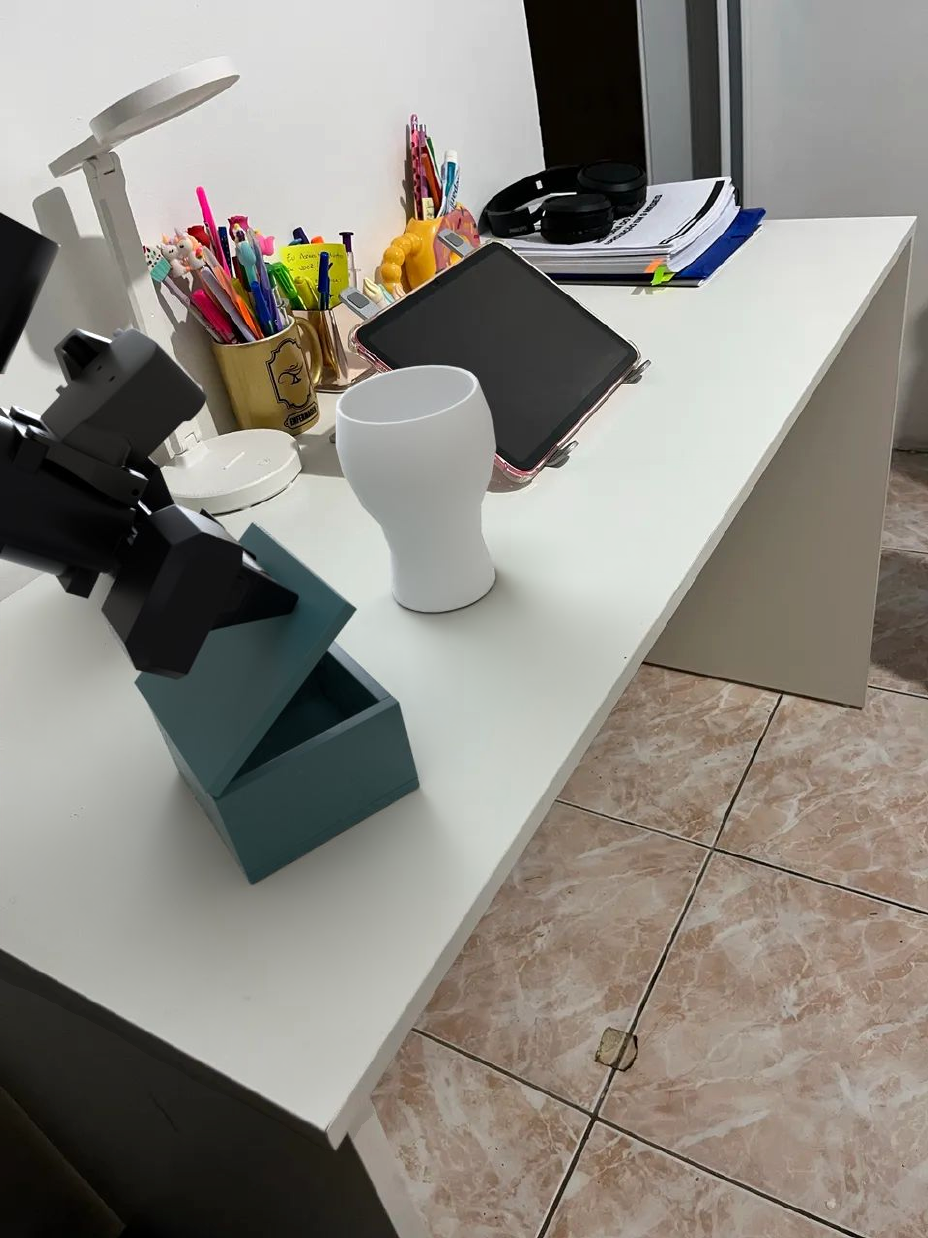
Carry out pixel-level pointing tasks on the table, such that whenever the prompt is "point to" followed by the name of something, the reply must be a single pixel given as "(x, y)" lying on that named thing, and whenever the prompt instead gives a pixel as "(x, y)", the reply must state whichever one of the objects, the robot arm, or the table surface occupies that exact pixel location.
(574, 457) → the table surface
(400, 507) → the white vase
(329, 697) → the teal box
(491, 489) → the table surface
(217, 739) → the box lid
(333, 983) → the table surface
